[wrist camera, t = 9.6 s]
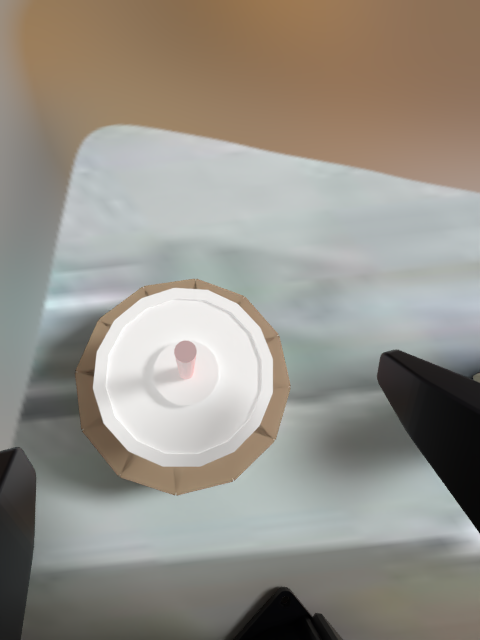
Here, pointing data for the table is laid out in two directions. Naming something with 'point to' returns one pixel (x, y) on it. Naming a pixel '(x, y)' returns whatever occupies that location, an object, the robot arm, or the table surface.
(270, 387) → the beverage cup
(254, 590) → the table surface
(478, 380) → the skincare box
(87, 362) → the holder ring
